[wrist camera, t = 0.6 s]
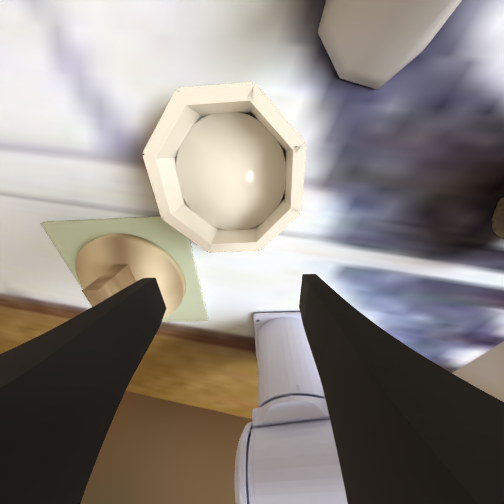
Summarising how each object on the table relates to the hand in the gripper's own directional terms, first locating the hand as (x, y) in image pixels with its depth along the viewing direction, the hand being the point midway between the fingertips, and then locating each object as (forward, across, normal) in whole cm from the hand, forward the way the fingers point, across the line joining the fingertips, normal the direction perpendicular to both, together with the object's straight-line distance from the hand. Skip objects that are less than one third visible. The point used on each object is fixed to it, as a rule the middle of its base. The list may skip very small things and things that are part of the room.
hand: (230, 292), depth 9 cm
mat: (+10, +12, +6) cm, 17 cm away
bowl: (+10, +1, -4) cm, 11 cm away
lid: (+10, +12, +6) cm, 17 cm away
